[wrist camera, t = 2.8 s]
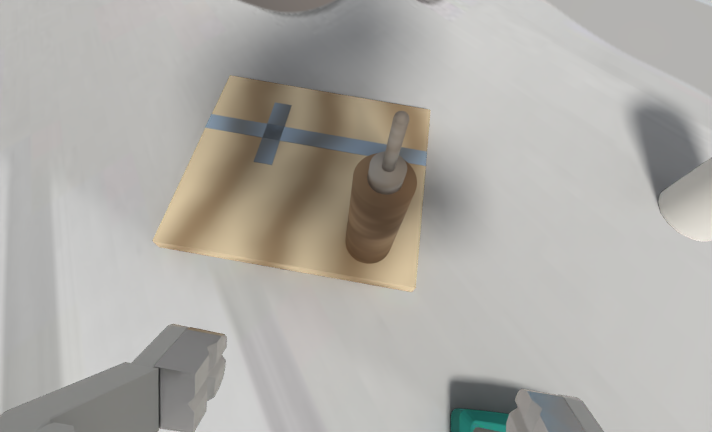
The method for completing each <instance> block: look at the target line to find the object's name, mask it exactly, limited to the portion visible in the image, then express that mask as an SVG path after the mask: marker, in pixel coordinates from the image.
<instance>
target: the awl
mask: <svg viewBox="0 0 712 432" xmlns="http://www.w3.org/2000/svg"><path fill="white" fill-rule="evenodd" d="M408 123H409V115H408V114H407V113H406V112H405V111H398V112H397V113H395V115H394V117H393V121H392V125H391V130H390V134H389V138H388V142H387V146H386V151H384V152H380V153H376V154H372V155H369V156H367V157H365V158H364V159H362V160H361V161H360V162H359V163H358V164H357V166H356V167H355V170H354V173H353V181H352V189H351V198H350V206H349V214H348V223H347V231H346V240H345V243H346V248H347V250H348V252H349V254H350V255H351V256H352V257H353V258H354V259H356V260H357V261H359V262H362V263H367V264H372V263H376V262H379V261H381V260H383V259H384V258H385V257H386V256H387V255H388V253H389V251H390V249H391V247H392V244H393V242H394V240H395V237H396V235H397V233H398V230H399V228H400V226H401V223H402V221H403V219H404V216H405V214H406V212H407V210H408V207H409V205H410V203H411V200H412V198H413V196H414V193H415V191H416V188H417V177H416V174H415V172H414V170H413V168H412V167H411V166H410V164H409V163H408V162H406V161H405V160H404V159H403V158H402V157H401V156H400V155H399V153H400V150H401V146H402V143H403V140H404V136H405V133H406V130H407V126H408Z"/></svg>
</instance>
